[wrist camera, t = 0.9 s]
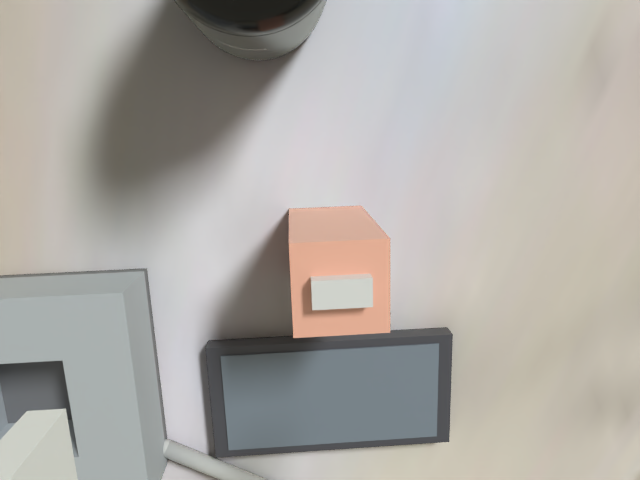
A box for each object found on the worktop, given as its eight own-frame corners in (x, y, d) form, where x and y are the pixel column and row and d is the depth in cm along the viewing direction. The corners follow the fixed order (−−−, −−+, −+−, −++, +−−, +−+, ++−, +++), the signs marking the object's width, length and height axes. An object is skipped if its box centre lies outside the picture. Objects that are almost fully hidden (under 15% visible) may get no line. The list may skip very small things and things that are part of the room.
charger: (288, 208, 27) (288, 247, 19) (361, 205, 27) (393, 242, 19) (292, 278, 28) (293, 344, 20) (362, 274, 28) (393, 339, 20)
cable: (157, 446, 30) (152, 457, 29) (163, 432, 30) (159, 443, 29) (289, 499, 31) (289, 512, 30) (296, 487, 31) (296, 499, 30)
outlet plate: (-79, 279, 27) (-142, 306, 23) (146, 268, 27) (123, 292, 23) (-35, 471, 29) (-84, 523, 26) (169, 457, 30) (151, 506, 26)
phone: (208, 340, 28) (205, 349, 27) (447, 327, 29) (453, 335, 28) (218, 446, 30) (215, 458, 29) (444, 431, 31) (449, 442, 30)
